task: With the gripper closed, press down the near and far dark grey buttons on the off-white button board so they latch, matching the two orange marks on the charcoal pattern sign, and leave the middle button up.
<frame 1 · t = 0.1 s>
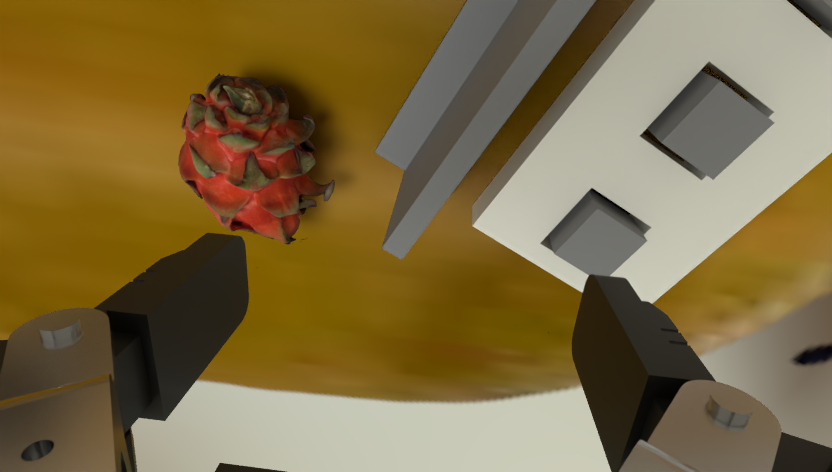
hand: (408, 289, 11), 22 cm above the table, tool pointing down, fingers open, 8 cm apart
button middle: (705, 124, 27), point 3 cm above the table, slide at 0.0 cm
dragon fruit: (277, 145, 34), on the table
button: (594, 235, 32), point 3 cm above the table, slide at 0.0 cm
button board: (685, 109, 30), on the table
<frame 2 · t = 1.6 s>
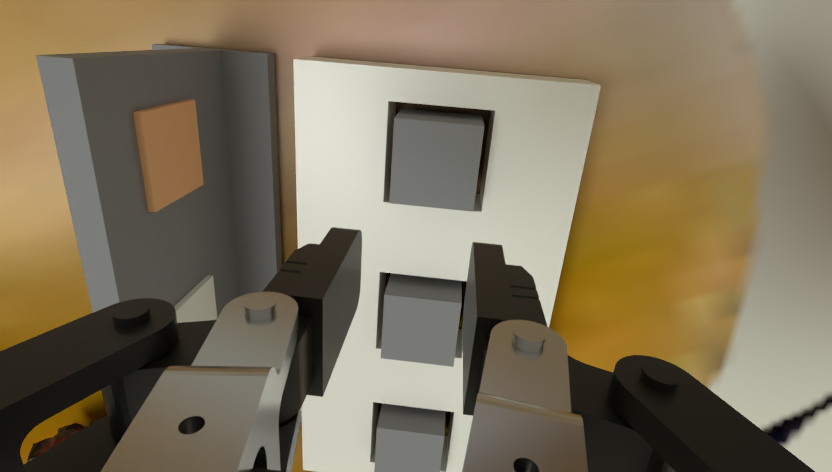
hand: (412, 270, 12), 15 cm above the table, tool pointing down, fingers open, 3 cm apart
button middle: (421, 316, 27), point 3 cm above the table, slide at 0.0 cm
dragon fruit: (141, 449, 38), on the table
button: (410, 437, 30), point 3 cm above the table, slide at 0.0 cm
pattern sign: (236, 269, 30), on the table
button board: (425, 290, 30), on the table
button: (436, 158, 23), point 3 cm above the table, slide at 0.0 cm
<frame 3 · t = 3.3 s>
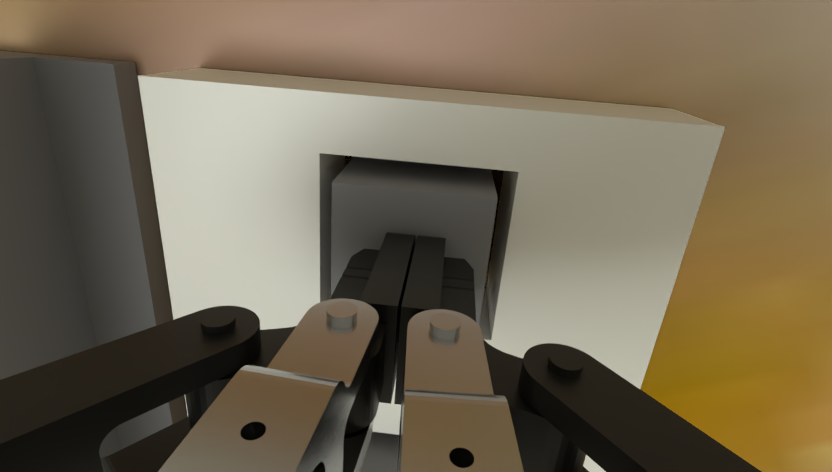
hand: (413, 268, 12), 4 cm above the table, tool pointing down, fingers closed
pattern sign: (113, 389, 20), on the table
button board: (402, 424, 19), on the table
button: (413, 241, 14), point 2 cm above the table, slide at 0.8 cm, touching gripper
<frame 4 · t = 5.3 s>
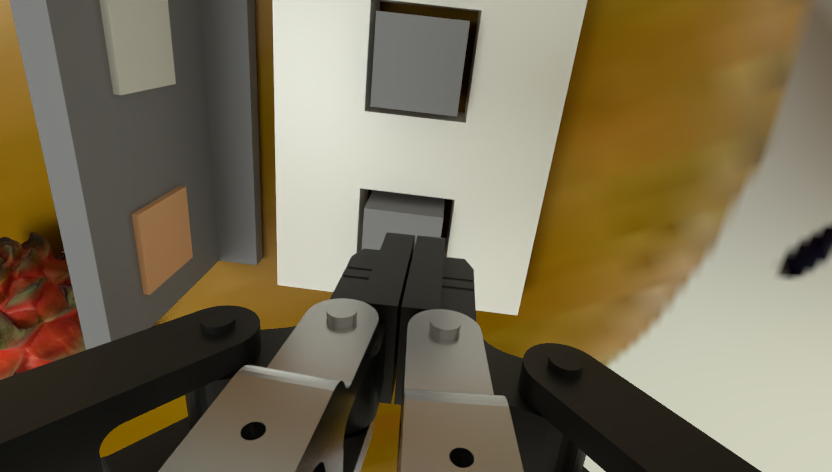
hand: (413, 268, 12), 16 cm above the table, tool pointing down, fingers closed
button middle: (420, 63, 22), point 3 cm above the table, slide at 0.0 cm
dragon fruit: (93, 286, 33), on the table
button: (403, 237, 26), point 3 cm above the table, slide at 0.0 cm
pattern sign: (200, 33, 26), on the table
button board: (424, 59, 25), on the table
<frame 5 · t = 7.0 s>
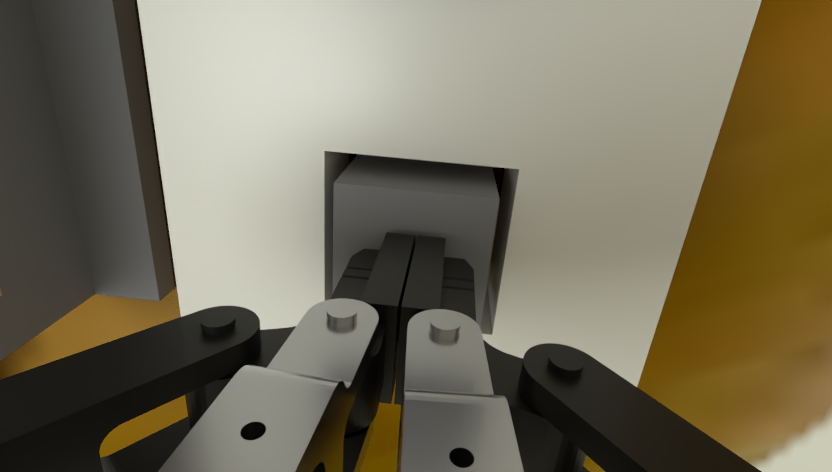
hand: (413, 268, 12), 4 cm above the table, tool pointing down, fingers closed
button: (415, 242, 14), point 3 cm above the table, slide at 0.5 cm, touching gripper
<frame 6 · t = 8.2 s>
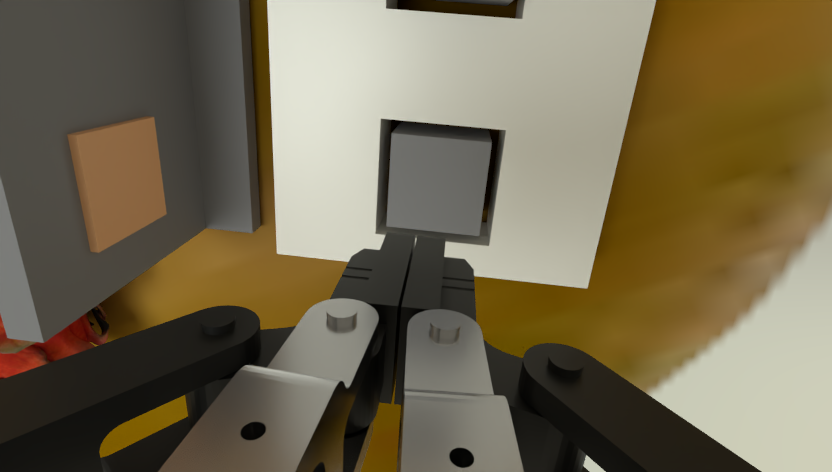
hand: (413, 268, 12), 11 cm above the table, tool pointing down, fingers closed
dragon fruit: (61, 267, 27), on the table
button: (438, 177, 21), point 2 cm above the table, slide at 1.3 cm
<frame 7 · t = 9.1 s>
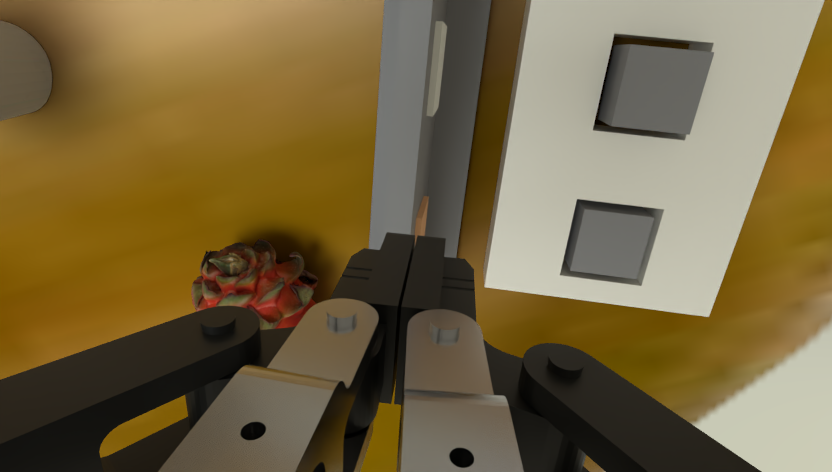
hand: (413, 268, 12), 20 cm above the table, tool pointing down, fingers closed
button middle: (650, 88, 26), point 3 cm above the table, slide at 0.0 cm
dragon fruit: (290, 289, 36), on the table
coffee cup: (16, 68, 32), on the table
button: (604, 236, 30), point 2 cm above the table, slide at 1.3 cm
pattern sign: (432, 64, 29), on the table
button board: (633, 85, 28), on the table
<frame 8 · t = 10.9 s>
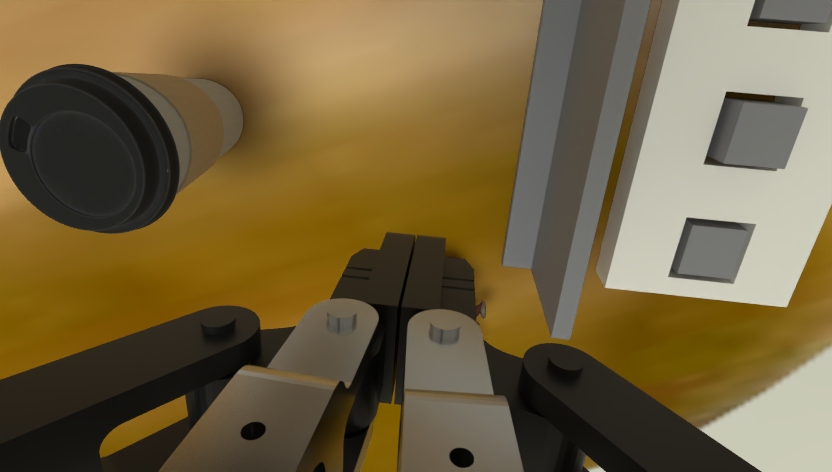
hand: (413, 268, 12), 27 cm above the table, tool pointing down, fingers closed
button middle: (752, 132, 33), point 3 cm above the table, slide at 0.0 cm
coffee cup: (211, 116, 39), on the table
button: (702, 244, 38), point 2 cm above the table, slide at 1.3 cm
pattern sign: (566, 110, 36), on the table
button board: (729, 124, 36), on the table
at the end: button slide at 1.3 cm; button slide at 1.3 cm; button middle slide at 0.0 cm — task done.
